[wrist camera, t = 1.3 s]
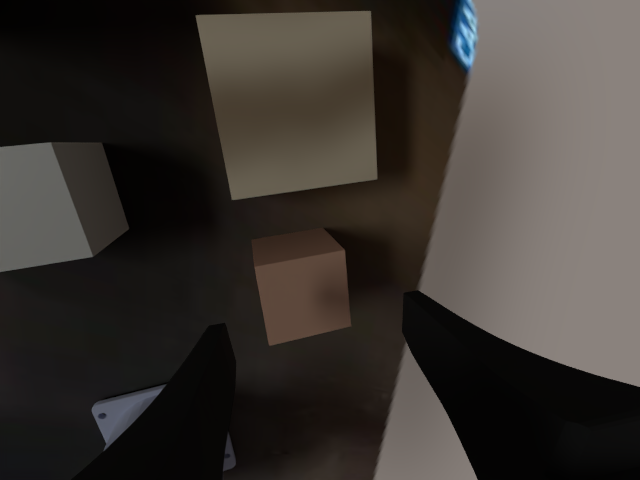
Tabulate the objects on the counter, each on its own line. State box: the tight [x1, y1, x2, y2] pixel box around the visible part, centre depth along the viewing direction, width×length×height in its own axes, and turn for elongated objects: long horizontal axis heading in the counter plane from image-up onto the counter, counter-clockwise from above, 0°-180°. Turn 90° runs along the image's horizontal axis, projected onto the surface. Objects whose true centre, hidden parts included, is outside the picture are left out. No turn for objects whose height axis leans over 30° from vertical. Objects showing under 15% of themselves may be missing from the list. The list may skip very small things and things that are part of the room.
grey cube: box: [0, 143, 129, 272], centre depth 15 cm, size 5×5×5 cm
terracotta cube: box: [252, 228, 351, 346], centre depth 20 cm, size 5×5×5 cm
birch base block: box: [196, 11, 377, 200], centre depth 17 cm, size 8×8×4 cm
